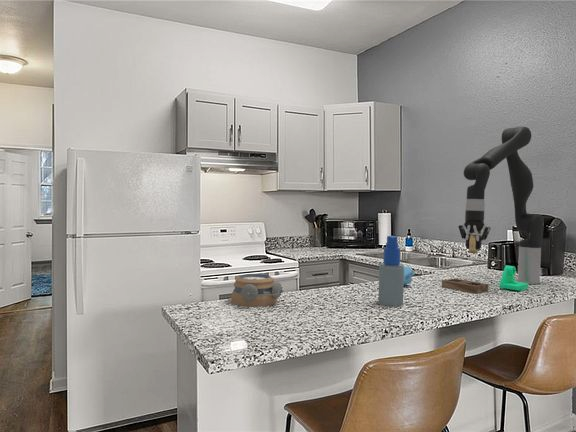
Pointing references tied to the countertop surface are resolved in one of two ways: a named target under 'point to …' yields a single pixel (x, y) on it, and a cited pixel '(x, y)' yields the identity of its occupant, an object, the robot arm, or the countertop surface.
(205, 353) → the countertop surface
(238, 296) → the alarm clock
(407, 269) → the teapot
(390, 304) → the spray bottle
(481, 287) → the jig
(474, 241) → the bushing
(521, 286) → the camera mount
